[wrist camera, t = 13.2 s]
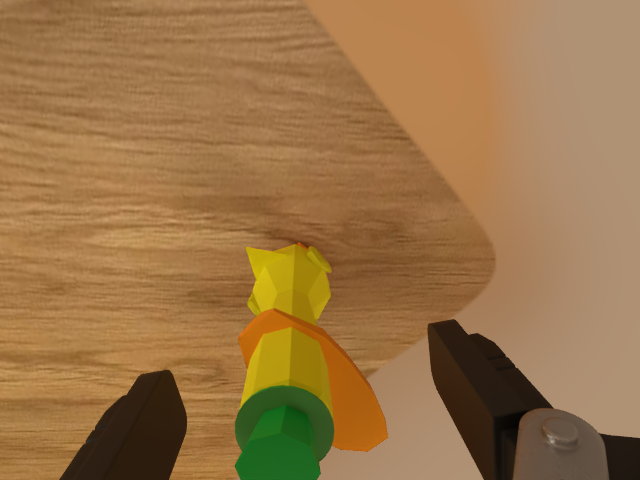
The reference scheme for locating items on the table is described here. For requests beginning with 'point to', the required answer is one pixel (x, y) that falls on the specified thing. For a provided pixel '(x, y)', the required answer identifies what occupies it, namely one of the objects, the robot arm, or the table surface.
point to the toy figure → (297, 374)
